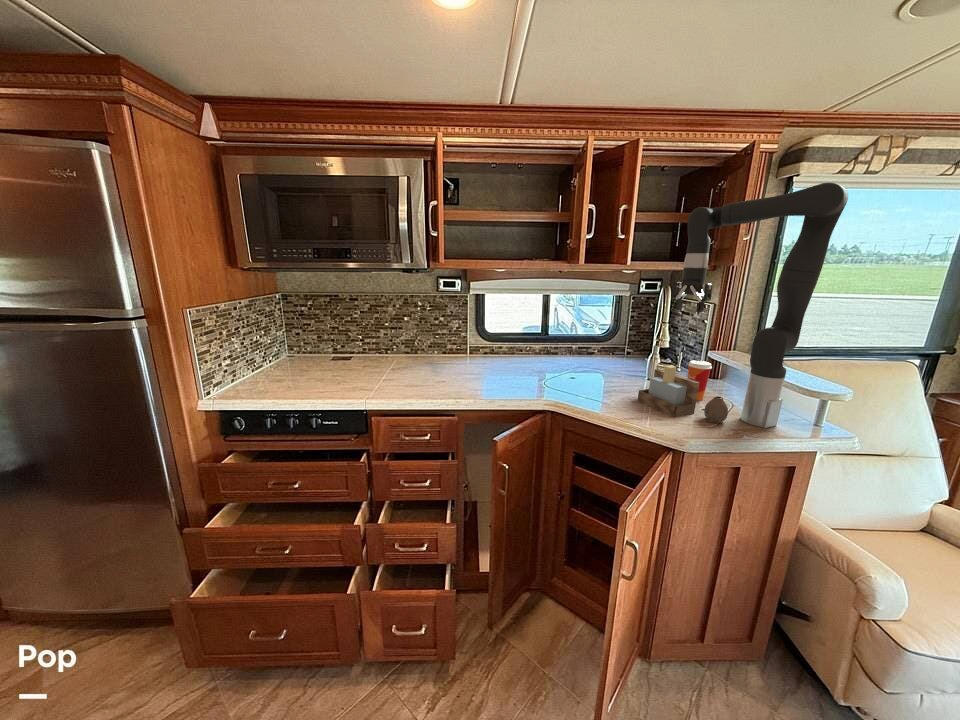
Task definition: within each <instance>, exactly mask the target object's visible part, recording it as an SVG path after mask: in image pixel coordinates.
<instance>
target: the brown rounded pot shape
mask: <svg viewBox="0 0 960 720" xmlns="http://www.w3.org/2000/svg"><path fill="white" fill-rule="evenodd" d="M703 412H704V417H705V419H706V420H707V421H708V422H710V423H713V424H721V423H723V422H724V421H725V420H726V419H727V418H728V416H729V407H728V405H727V403H726V402H725V400H724V397H722V396H718V395H716V396H714V397H713V398H712V399H711V400H709V401H708V402H707V403H706V404H705V406H704V411H703Z"/></svg>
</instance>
